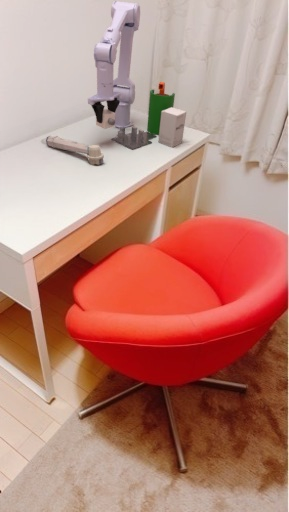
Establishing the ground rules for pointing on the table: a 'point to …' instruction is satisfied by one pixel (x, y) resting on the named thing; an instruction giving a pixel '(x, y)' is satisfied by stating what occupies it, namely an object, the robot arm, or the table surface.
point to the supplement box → (172, 126)
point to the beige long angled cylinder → (77, 148)
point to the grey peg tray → (133, 138)
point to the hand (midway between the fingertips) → (105, 120)
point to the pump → (107, 119)
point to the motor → (158, 108)
